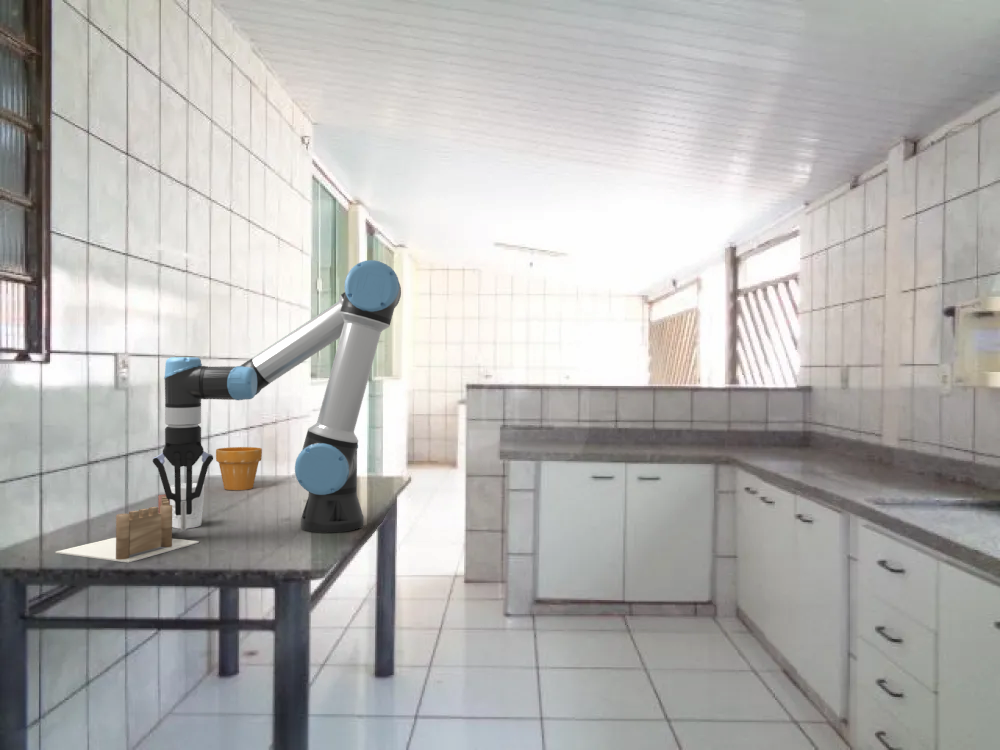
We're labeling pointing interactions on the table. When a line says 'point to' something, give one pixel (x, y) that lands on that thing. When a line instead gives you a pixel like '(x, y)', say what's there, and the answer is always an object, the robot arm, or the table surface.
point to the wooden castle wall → (143, 530)
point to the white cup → (197, 508)
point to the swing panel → (162, 501)
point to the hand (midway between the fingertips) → (183, 528)
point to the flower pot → (238, 466)
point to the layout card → (108, 550)
